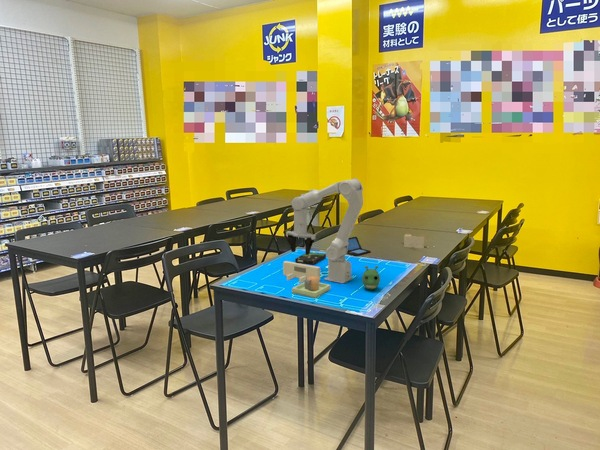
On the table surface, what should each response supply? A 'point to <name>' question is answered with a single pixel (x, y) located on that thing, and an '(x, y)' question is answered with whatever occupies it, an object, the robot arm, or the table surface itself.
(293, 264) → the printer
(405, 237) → the model
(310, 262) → the disk drive
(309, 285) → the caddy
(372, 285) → the alien toy
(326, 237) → the table surface
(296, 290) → the tray
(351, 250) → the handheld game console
